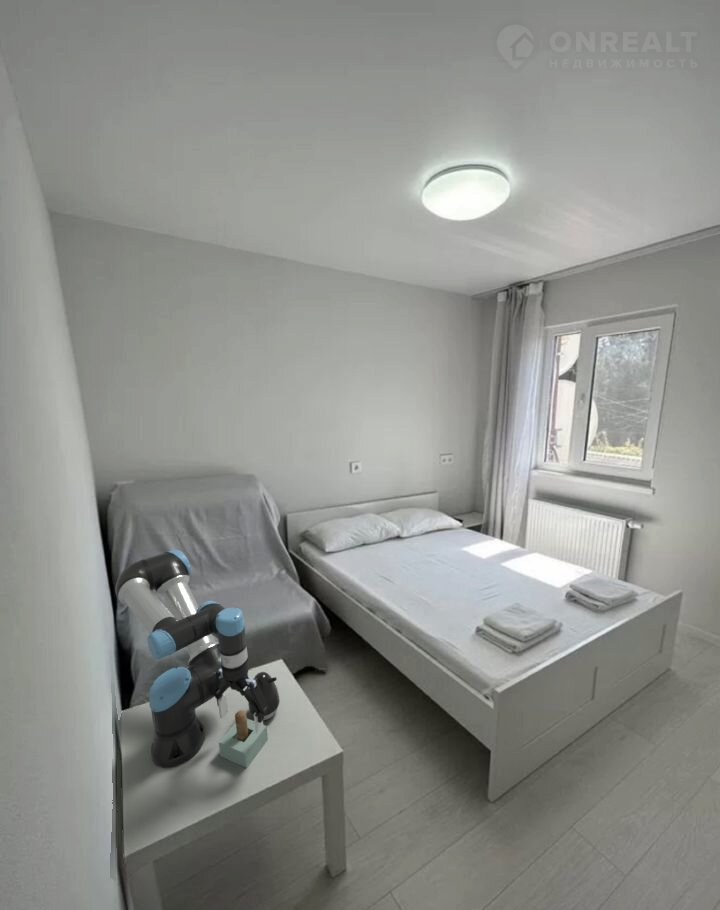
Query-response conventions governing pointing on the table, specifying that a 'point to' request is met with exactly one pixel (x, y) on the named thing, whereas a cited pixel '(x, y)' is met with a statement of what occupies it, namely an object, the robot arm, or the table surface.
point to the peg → (241, 725)
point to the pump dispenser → (267, 694)
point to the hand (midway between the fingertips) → (241, 722)
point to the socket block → (243, 744)
